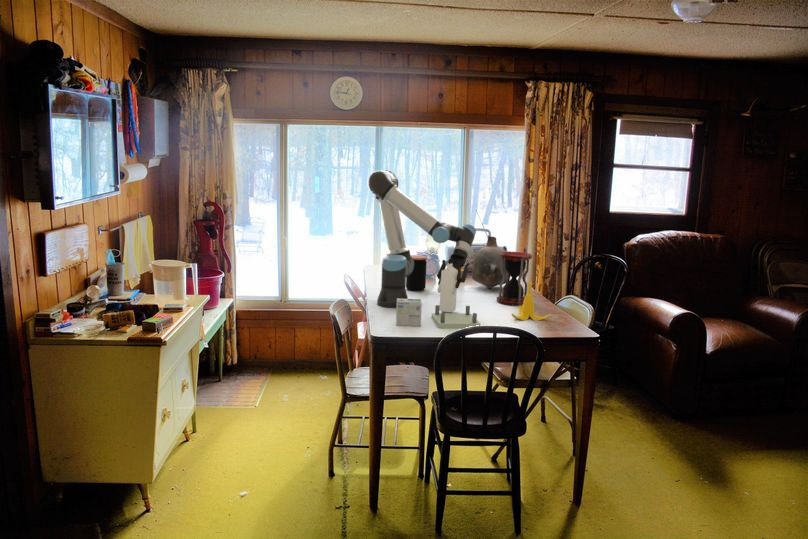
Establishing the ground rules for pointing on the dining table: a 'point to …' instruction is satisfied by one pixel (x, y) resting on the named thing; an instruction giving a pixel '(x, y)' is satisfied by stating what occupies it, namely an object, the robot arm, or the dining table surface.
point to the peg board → (454, 319)
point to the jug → (489, 264)
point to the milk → (448, 289)
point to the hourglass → (513, 278)
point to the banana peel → (528, 307)
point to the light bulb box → (408, 312)
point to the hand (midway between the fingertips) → (445, 292)
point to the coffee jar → (417, 274)
